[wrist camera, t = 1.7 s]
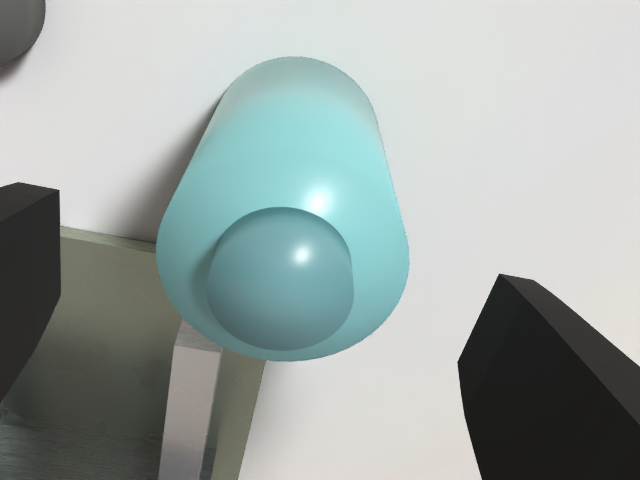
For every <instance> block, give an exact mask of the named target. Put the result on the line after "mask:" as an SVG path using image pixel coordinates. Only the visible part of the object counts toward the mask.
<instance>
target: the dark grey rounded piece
mask: <svg viewBox="0 0 640 480" xmlns="http://www.w3.org/2000/svg"><path fill="white" fill-rule="evenodd" d="M44 20H45V0H0V66H2V65H4V64H6V63H7V62H9V61H11V60H12V59H14V58H16V57H17V56H19V55H21V54H22V53H24V52H25V51H26V50H28V49H29V48H30V47H31V46H32V45H33V44H34V43H35V41H36V40H37V38H38V37H39V35H40V33H41V30H42V28H43V24H44Z"/></svg>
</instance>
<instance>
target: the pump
mask: <svg viewBox="0 0 640 480" xmlns="http://www.w3.org/2000/svg"><path fill="white" fill-rule="evenodd" d="M156 262H157V269H158V274H159V277H160V280H161V283H162V286H163V288H164V290H165V292H166V295H167V297H168V298H169V300H170V302H171V303H172V305H173V306H174V308H175V309H176V310H177V312H178V313H179V314H180V315H181V316H182V318H183V319H184V320H185V321H186V322H187V323H188V324H189V325H191V326H192V327H193V328H194V329H195V330H196V331H197V332H199V333H200V334H202V335H203V336H204V337H206V338H207V339H209V340H211V341H212V342H214V343H216V344H218V345H219V346H221V347H224V348H226V349H228V350H230V351H233V352H236V353H239V354H242V355H245V356H248V357H253V358H257V359H262V360H270V361H304V360H311V359H316V358H321V357H325V356H328V355H332V354H335V353H337V352H340V351H342V350H345V349H347V348H349V347H351V346H353V345H355V344H357V343H358V342H360V341H362V340H363V339H365V338H366V337H367V336H369V335H370V334H372V333H373V332H374V331H375V330H376V329H377V328H378V327H379V326H381V325H382V324H383V322H384V321H385V320H386V319H387V318H388V317H389V315H390V314H391V313H392V311H393V310H394V308H395V307H396V305H397V304H398V302H399V300H400V297H401V295H402V293H403V291H404V288H405V284H406V281H407V278H408V270H409V247H408V242H407V236H406V232H405V228H404V224H403V221H402V217H401V213H400V209H399V205H398V201H397V197H396V193H395V189H394V185H393V181H392V178H391V174H390V170H389V166H388V162H387V158H386V154H385V150H384V146H383V142H382V138H381V134H380V131H379V127H378V123H377V119H376V116H375V113H374V110H373V107H372V105H371V103H370V101H369V99H368V97H367V96H366V94H365V93H364V92H363V90H362V89H361V88H360V87H359V85H358V84H357V83H356V82H355V81H354V80H353V79H352V78H350V77H349V76H348V75H347V74H346V73H344V72H343V71H341V70H339V69H338V68H336V67H334V66H332V65H330V64H328V63H325V62H322V61H319V60H316V59H312V58H305V57H282V58H276V59H272V60H268V61H265V62H263V63H260V64H258V65H256V66H254V67H252V68H250V69H249V70H247V71H246V72H244V73H243V74H242V75H240V76H239V77H238V78H237V79H236V80H235V81H234V82H233V83H232V84H231V85H230V86H229V88H228V89H227V90H226V92H225V93H224V95H223V97H222V99H221V100H220V102H219V104H218V106H217V108H216V110H215V112H214V114H213V116H212V118H211V120H210V122H209V125H208V127H207V129H206V131H205V133H204V135H203V137H202V139H201V141H200V143H199V145H198V147H197V149H196V151H195V153H194V155H193V157H192V159H191V161H190V163H189V165H188V167H187V169H186V171H185V173H184V175H183V177H182V179H181V181H180V183H179V185H178V187H177V189H176V191H175V193H174V195H173V197H172V199H171V201H170V204H169V206H168V208H167V210H166V212H165V214H164V216H163V218H162V221H161V224H160V227H159V230H158V236H157V242H156Z"/></svg>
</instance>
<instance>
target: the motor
mask: <svg viewBox="0 0 640 480" xmlns="http://www.w3.org/2000/svg"><path fill="white" fill-rule="evenodd" d="M60 256H61V296H60V299H59V301H58V303H57V305H56V307H55V310H54V312H53V314H52V316H51V318H50V321H49V323H48V325H47V327H46V329H45V331H44V333H43V335H42V337H41V339H40V341H39V343H38V345H37V347H36V349H35V351H34V352H33V354H32V355H31V357H30V358H29V360H28V362H27V363H26V365H25V366H24V368H23V369H22V371H21V372H20V374H19V375H18V377H17V379H16V380H15V382H14V383H13V385H12V386H11V388H10V389H9V391H8V392H7V394H6V395H5V397H4V398H3V400H2V401H1V403H0V480H238V476H239V472H240V468H241V463H242V459H243V455H244V451H245V446H246V442H247V438H248V433H249V429H250V425H251V421H252V416H253V412H254V408H255V403H256V399H257V395H258V391H259V386H260V382H261V378H262V373H263V369H264V365H265V361H266V360H262V359H257V358H253V357H248V356H245V355H242V354H239V353H236V352H233V351H230V350H228V349H226V348H224V347H221V346H219V345H218V344H216V343H214V342H212V341H211V340H209V339H207V338H206V337H204V336H203V335H202V334H200V333H199V332H197V331H196V330H195V329H194V328H193V327H192V326H191V325H189V324H188V323H187V322H186V321H185V320H184V319H183V318H182V316H181V315H180V314H179V313H178V312H177V310H176V309H175V308H174V306H173V305H172V303H171V302H170V300H169V298H168V297H167V295H166V292H165V290H164V288H163V286H162V283H161V280H160V277H159V274H158V269H157V262H156V244H154V243H149V242H143V241H138V240H133V239H127V238H122V237H116V236H111V235H106V234H100V233H95V232H89V231H84V230H79V229H73V228H68V227H62V226H60Z"/></svg>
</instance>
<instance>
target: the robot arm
mask: <svg viewBox="0 0 640 480" xmlns="http://www.w3.org/2000/svg"><path fill="white" fill-rule="evenodd" d="M60 296H61V256H60V197H59V190H57V189H52V188H46V187H41V186H36V185H31V184H25V183H20V182H17V183H14V184H10V185H6V186H3V187H0V403H1V401H2V400H3V398H4V397H5V395H6V394H7V392H8V391H9V389H10V388H11V386H12V385H13V383H14V382H15V380H16V379H17V377H18V375H19V374H20V372H21V371H22V369H23V368H24V366H25V365H26V363H27V362H28V360H29V358H30V357H31V355H32V354H33V352H34V351H35V349H36V347H37V345H38V343H39V341H40V339H41V337H42V335H43V333H44V331H45V329H46V327H47V325H48V323H49V321H50V318H51V316H52V314H53V312H54V310H55V307H56V305H57V303H58V301H59V299H60ZM458 371H459V380H460V388H461V396H462V402H463V409H464V416H465V419H466V423H467V427H468V431H469V435H470V438H471V442H472V446H473V449H474V453H475V457H476V460H477V464H478V467H479V471H480V474H481V478H482V480H640V367H639V366H638V365H637V364H636V363H635V362H633V361H632V360H631V359H630V358H629V357H627V356H626V355H625V354H624V353H623V352H621V351H620V350H619V349H618V348H617V347H616V346H614V345H613V344H612V343H611V342H610V341H608V340H607V339H606V338H605V337H604V336H603V335H601V334H600V333H599V332H598V331H597V330H596V329H594V328H593V327H592V326H591V325H590V324H588V323H587V322H586V321H585V320H584V319H583V318H581V317H580V316H579V315H578V314H577V313H576V312H574V311H573V310H572V309H571V308H570V307H568V306H567V305H566V304H565V303H563V302H562V301H561V300H560V299H559V298H557V297H556V296H555V295H553V294H552V293H551V292H550V291H548V290H547V289H546V288H544V287H543V286H541V285H540V284H538V283H537V282H535V281H534V280H530V279H525V278H520V277H515V276H509V275H504V274H499V275H498V277H497V279H496V282H495V284H494V286H493V288H492V290H491V292H490V294H489V296H488V298H487V301H486V303H485V305H484V307H483V309H482V311H481V313H480V315H479V318H478V320H477V322H476V324H475V326H474V328H473V330H472V332H471V335H470V337H469V339H468V341H467V343H466V345H465V347H464V349H463V351H462V354H461V356H460V358H459V360H458Z"/></svg>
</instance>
